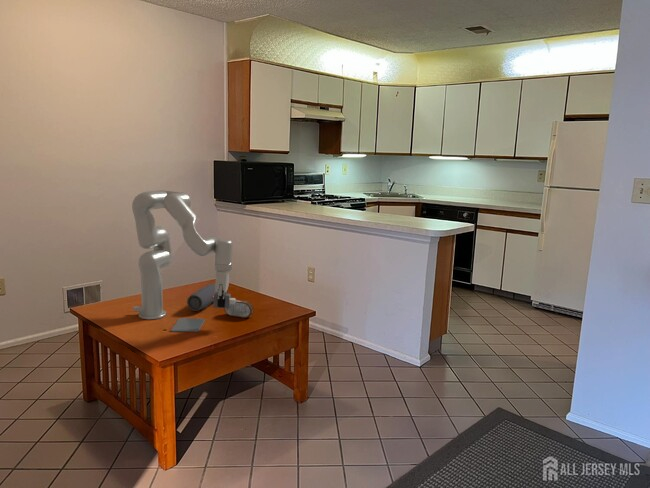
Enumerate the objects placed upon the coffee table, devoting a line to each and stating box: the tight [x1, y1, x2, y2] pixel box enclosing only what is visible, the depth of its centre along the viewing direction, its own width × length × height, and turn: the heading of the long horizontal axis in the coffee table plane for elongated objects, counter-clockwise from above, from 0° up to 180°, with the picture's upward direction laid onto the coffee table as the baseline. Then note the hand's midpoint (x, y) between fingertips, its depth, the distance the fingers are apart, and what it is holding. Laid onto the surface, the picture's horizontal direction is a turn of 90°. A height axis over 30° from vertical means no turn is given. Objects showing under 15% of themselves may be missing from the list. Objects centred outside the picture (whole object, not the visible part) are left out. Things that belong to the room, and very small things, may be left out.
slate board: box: [170, 317, 206, 333], centre depth 221 cm, size 12×16×1 cm
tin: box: [223, 299, 254, 319], centre depth 236 cm, size 15×3×8 cm, turn 74°
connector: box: [213, 292, 236, 309], centre depth 220 cm, size 9×4×6 cm, turn 93°
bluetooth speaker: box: [186, 283, 218, 311], centre depth 249 cm, size 23×9×10 cm, turn 168°
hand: (221, 305), depth 220 cm, fingers closed on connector, 3 cm apart
